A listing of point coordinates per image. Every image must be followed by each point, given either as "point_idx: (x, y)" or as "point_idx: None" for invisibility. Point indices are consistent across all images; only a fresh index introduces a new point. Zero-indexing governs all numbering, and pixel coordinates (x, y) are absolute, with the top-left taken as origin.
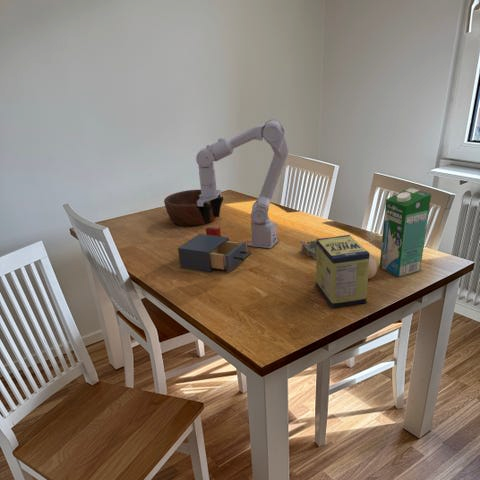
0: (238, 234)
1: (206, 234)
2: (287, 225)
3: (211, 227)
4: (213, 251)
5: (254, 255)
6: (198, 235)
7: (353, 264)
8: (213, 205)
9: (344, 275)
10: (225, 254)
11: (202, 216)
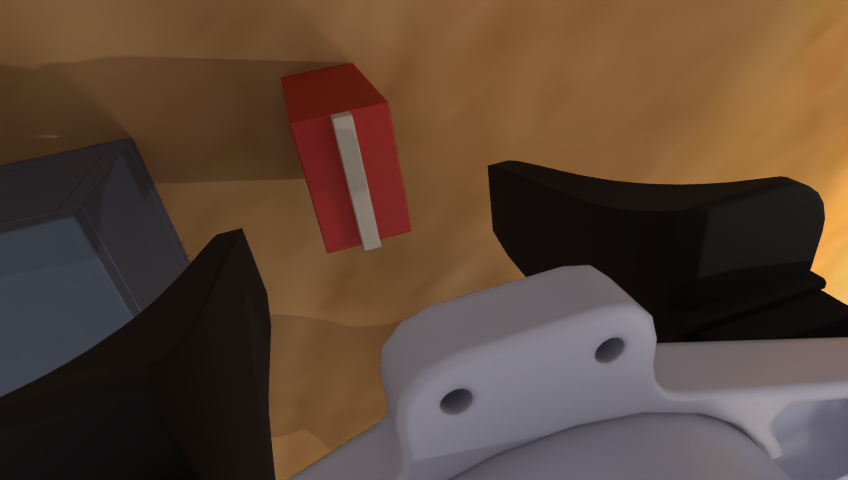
0: (599, 131)
1: (286, 105)
2: None
3: (346, 175)
4: None
5: (336, 437)
6: (21, 250)
7: None
8: (583, 249)
9: None
10: None
11: (179, 284)
